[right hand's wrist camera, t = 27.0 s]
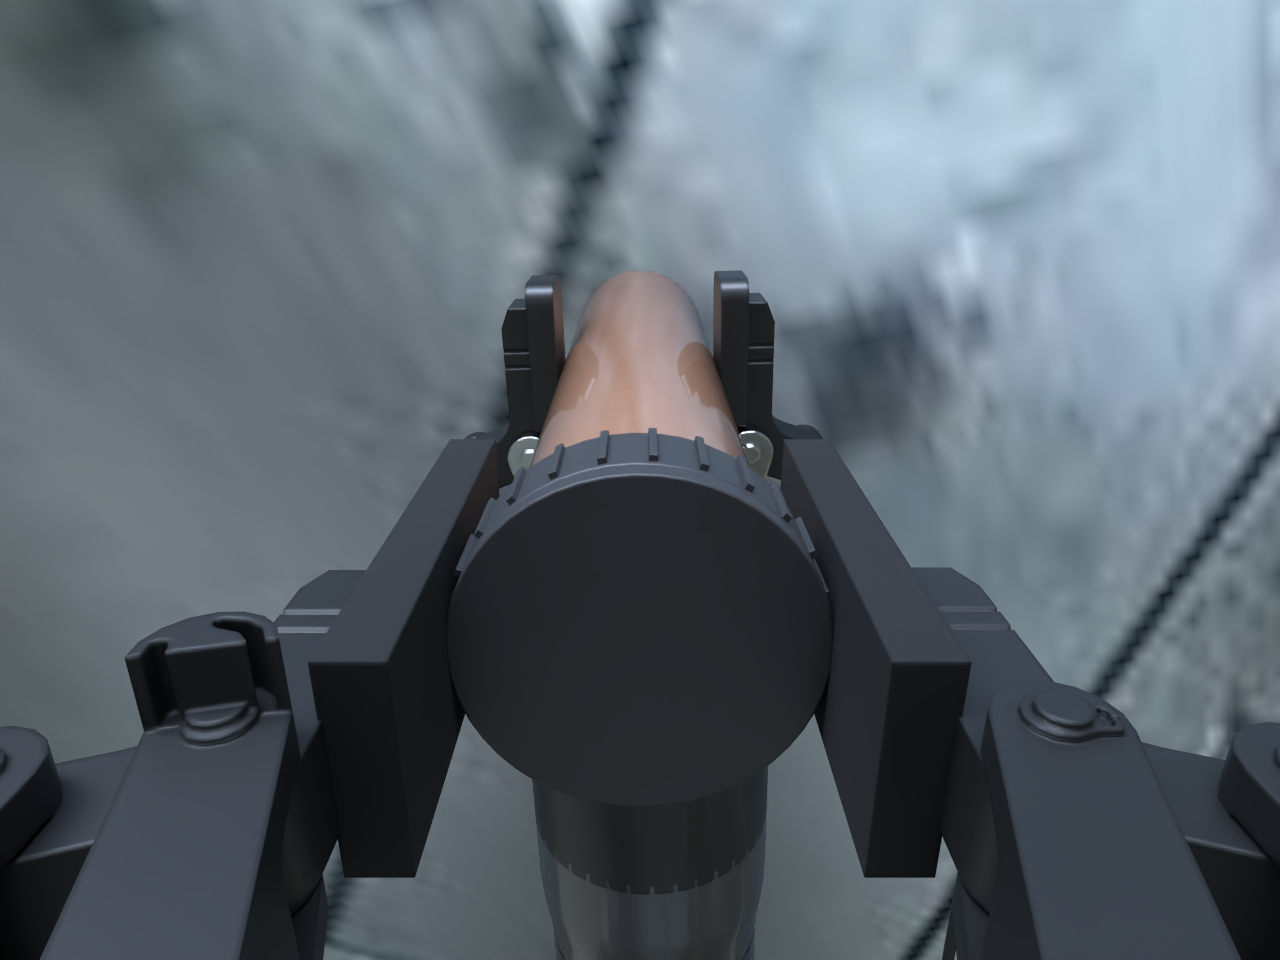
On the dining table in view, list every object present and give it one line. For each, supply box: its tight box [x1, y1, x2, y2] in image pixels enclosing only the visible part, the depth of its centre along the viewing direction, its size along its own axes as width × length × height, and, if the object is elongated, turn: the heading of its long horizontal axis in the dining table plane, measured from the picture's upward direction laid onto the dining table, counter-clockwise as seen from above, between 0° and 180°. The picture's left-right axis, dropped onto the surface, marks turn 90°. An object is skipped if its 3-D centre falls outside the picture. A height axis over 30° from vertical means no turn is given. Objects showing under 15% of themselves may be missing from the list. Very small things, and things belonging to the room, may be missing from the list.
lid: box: [446, 428, 834, 807], centre depth 11 cm, size 5×5×2 cm
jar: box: [529, 271, 751, 468], centre depth 20 cm, size 4×4×18 cm
